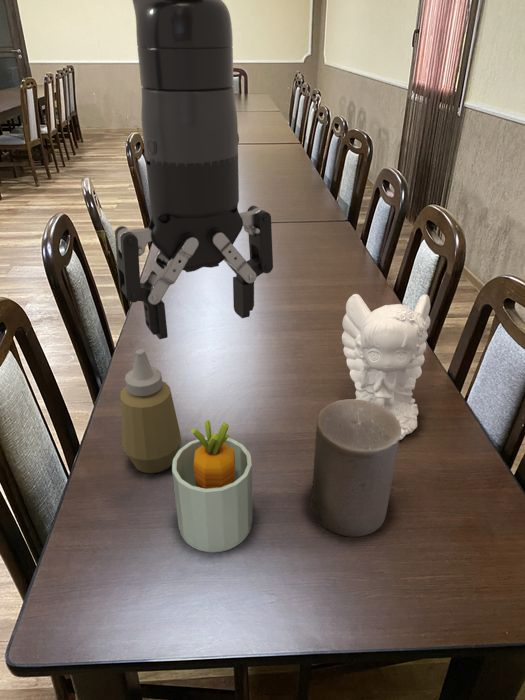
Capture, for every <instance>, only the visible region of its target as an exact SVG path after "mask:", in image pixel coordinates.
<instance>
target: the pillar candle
mask: <svg viewBox="0 0 525 700" xmlns="http://www.w3.org/2000/svg"><path fill="white" fill-rule="evenodd" d="M315 430H316V431H315V445H314V458H313V473H312V474H313V475H312V485H311V489H312V492H311V499H310V509H311V513H312V515H313V517H314V518H315V520H316V521H317V522H318V523H319V524H320V525H321V526H322V527H323V528H325V529H327V530H329V531H330V532H332V533H334V534H337V535H339V536H344V537H348V538H349V537H351V538H352V537H353V538H357V537H358V538H359V537H364V536H367V535H369V534H372V533H374V532H376V531H377V530H378V529H379V528H380V527H382V525H383V524H384V522H385V520H386V516H387V512H388V508H389V507H388V506H389V501H390V496H391V490H392V484H393V479H394V473H395V469H396V468H395V467H396V461H397V455H398V450H399V445H400V440H399V439H400V437H401V436H400V435H401V426H400V422H399V421H398V420H397V418H396V417H395V415H393V414H392V413H391V412H390V411H389V410H387V409H386V408H384V407H383V406H381V405H380V404H378V403H376V402H369V401H364V400H358V399H356V398H348V399H339V400H336V401H333V402H331V403H329V404H328V405H326V406H325V407H323V408H322V409H321V410H320V411H319V412H318V417H317V421H316V429H315Z"/></svg>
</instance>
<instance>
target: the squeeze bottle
mask: <svg viewBox="0 0 525 700" xmlns="http://www.w3.org/2000/svg"><path fill="white" fill-rule="evenodd" d="M133 358H134V360H133V367H132V369H131V370H129V371H128V372H127V373H126V374H125V376H124V382H125V386H124V387H123V389H122V390H121V391H120V395H119V396H120V399H119V400H120V421H121V444H122V445H121V447H122V449H123V451H124V452H125V453H126V455H127V456H128V458H129V460H130V461H131V463H132V464H133V466H134V467H135V468H136V470H138V471H139V472H142V473H146V474H155V473H161V472H163V471H165V470H168V469H169V468H170V467H172V463H173V459H174V457H175V455H176V454H177V452H178V451H179V449H180V444H181V442H182V435H181V430H180V426H179V421H178V418H177V412H176V408H175V403H174V399H173V394H172V391H171V387H170V386H169V384H168V383H167V382H166V381H163V377H162V372H161V371H160V369H158V368H156V367H154V366H152V365H151V363H150V361H149V358H148V356H147V353H146V350H145V349H143V348H139V349H136V350H135V352H134V357H133Z"/></svg>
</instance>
